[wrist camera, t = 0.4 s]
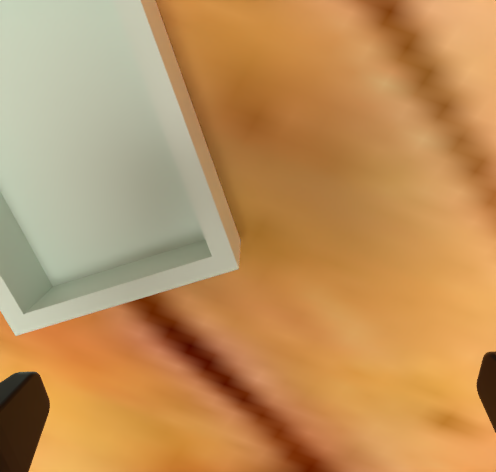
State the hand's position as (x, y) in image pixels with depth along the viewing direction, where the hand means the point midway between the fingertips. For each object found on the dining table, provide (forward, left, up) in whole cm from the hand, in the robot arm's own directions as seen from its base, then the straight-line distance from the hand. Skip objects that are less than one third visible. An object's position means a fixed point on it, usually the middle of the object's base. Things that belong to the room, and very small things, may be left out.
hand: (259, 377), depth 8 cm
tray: (+3, +9, -14) cm, 17 cm away
